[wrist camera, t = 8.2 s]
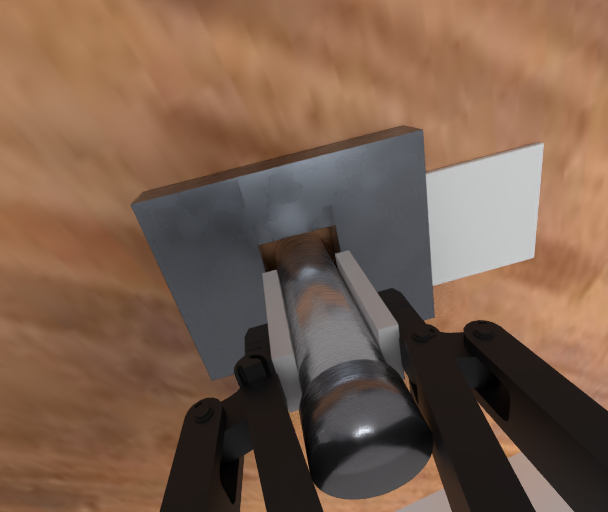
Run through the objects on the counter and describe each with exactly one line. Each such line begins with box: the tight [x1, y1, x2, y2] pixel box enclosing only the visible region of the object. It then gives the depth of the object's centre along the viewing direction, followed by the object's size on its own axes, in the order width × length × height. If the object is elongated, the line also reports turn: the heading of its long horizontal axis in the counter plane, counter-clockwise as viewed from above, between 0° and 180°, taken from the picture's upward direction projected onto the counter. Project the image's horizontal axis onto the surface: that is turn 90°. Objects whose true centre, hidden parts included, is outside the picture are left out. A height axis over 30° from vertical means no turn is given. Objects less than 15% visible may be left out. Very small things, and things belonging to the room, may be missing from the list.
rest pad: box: [426, 142, 544, 286], centre depth 23 cm, size 8×8×1 cm
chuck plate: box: [131, 126, 435, 380], centre depth 21 cm, size 15×12×2 cm
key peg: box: [275, 231, 434, 499], centre depth 16 cm, size 4×4×14 cm
